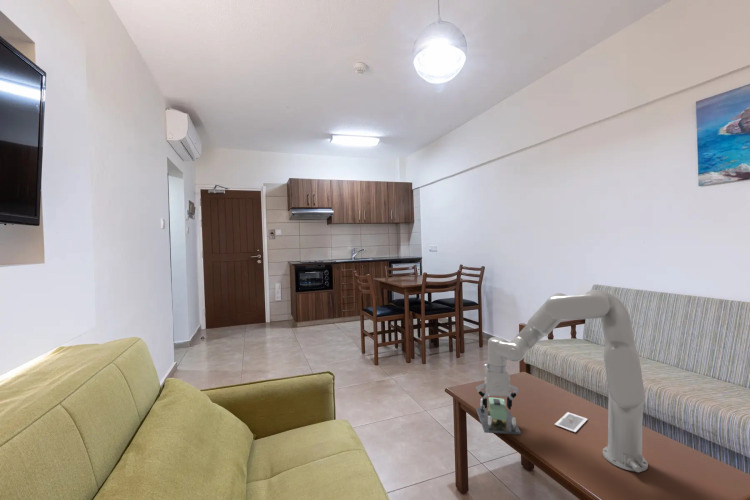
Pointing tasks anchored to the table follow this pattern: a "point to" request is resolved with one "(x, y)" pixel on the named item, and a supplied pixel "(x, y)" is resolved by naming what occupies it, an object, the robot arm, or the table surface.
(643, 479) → the table surface
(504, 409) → the green block
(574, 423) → the touchpad
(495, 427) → the chassis
